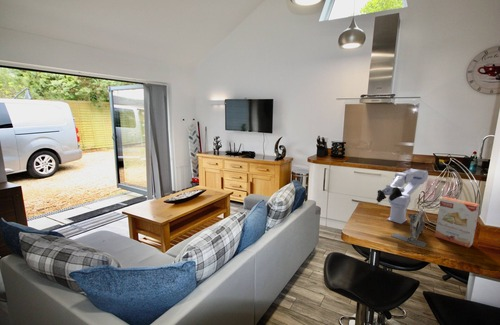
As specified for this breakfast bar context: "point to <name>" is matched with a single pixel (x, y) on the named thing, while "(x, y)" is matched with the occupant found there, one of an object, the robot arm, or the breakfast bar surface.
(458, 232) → the cracker box
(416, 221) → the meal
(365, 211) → the breakfast bar surface
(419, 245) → the gray flat rectangular plate
